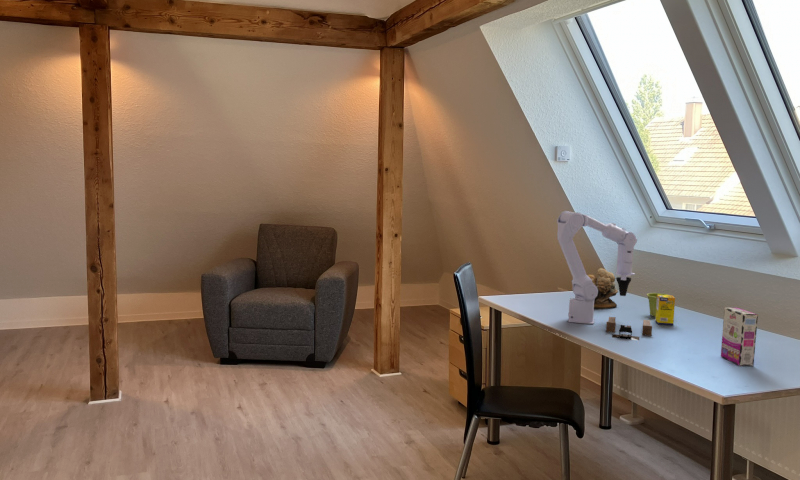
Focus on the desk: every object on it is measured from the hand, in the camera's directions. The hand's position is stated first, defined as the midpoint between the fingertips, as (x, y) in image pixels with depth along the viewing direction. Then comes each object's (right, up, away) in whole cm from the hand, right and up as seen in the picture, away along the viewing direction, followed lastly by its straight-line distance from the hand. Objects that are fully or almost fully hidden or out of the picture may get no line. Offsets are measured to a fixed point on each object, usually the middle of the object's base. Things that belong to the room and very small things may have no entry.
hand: (622, 295), depth 273 cm
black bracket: (-8, -14, -26) cm, 31 cm away
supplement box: (+15, -11, -3) cm, 19 cm away
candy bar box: (+19, -17, -55) cm, 60 cm away
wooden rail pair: (-3, -12, -15) cm, 19 cm away
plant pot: (+18, -9, +11) cm, 23 cm away
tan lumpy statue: (-2, -7, +28) cm, 29 cm away
